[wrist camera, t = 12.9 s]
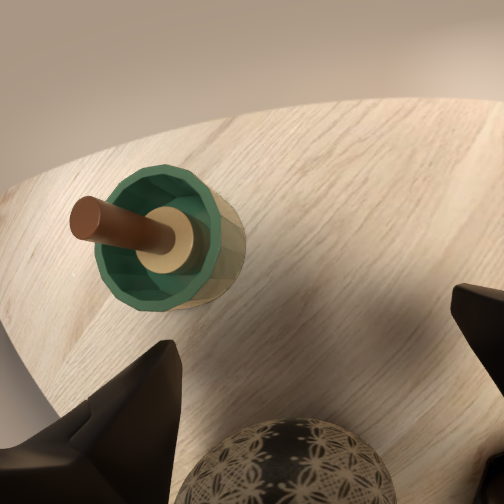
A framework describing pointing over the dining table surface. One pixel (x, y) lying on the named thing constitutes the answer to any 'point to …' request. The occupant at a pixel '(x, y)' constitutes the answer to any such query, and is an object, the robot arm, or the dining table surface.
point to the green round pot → (166, 285)
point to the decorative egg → (289, 467)
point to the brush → (145, 234)
